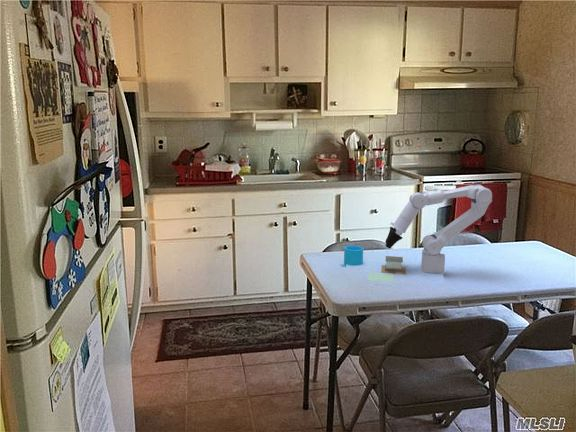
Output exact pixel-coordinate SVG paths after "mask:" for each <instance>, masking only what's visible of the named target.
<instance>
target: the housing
mask: <svg viewBox="0 0 576 432" xmlns="http://www.w3.org/2000/svg"><path fill="white" fill-rule="evenodd" d="M385 262H386V264H385V265H384V266H385V271H398V272H402V267H403V266H402V263H403V262H404V257H403V256H391V255H385Z"/></svg>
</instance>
